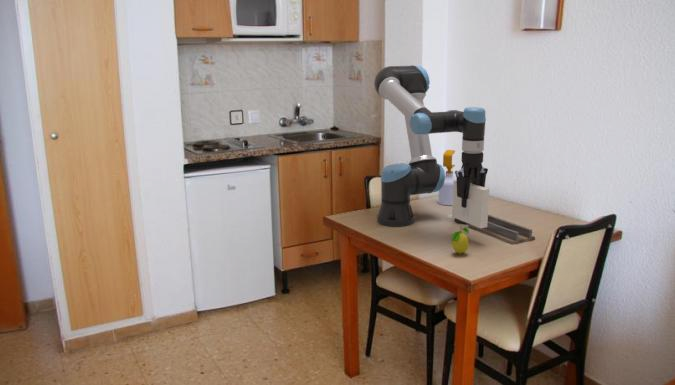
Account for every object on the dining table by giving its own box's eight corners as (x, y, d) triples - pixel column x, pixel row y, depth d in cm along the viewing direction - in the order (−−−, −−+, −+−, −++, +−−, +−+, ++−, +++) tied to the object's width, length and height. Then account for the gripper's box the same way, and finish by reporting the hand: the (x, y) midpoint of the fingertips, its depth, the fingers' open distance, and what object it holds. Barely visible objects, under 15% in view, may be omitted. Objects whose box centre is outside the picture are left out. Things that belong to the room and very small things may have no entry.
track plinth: (512, 244, 199) (512, 233, 198) (468, 227, 220) (468, 217, 219) (534, 239, 204) (535, 229, 203) (489, 223, 225) (490, 213, 224)
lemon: (468, 251, 193) (469, 223, 190) (471, 256, 187) (472, 228, 185) (448, 251, 193) (449, 223, 191) (451, 256, 187) (452, 228, 185)
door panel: (480, 228, 197) (482, 189, 193) (452, 216, 210) (453, 180, 207) (488, 226, 198) (490, 188, 195) (459, 215, 212) (461, 179, 209)
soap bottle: (461, 202, 258) (463, 149, 252) (454, 206, 251) (455, 152, 245) (442, 200, 263) (444, 148, 257) (435, 204, 255) (436, 151, 250)
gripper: (461, 155, 191) (458, 220, 197) (497, 151, 198) (493, 214, 204) (447, 151, 197) (445, 215, 203) (483, 148, 204) (479, 209, 210)
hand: (469, 214), depth 203 cm, fingers closed on door panel, 3 cm apart
